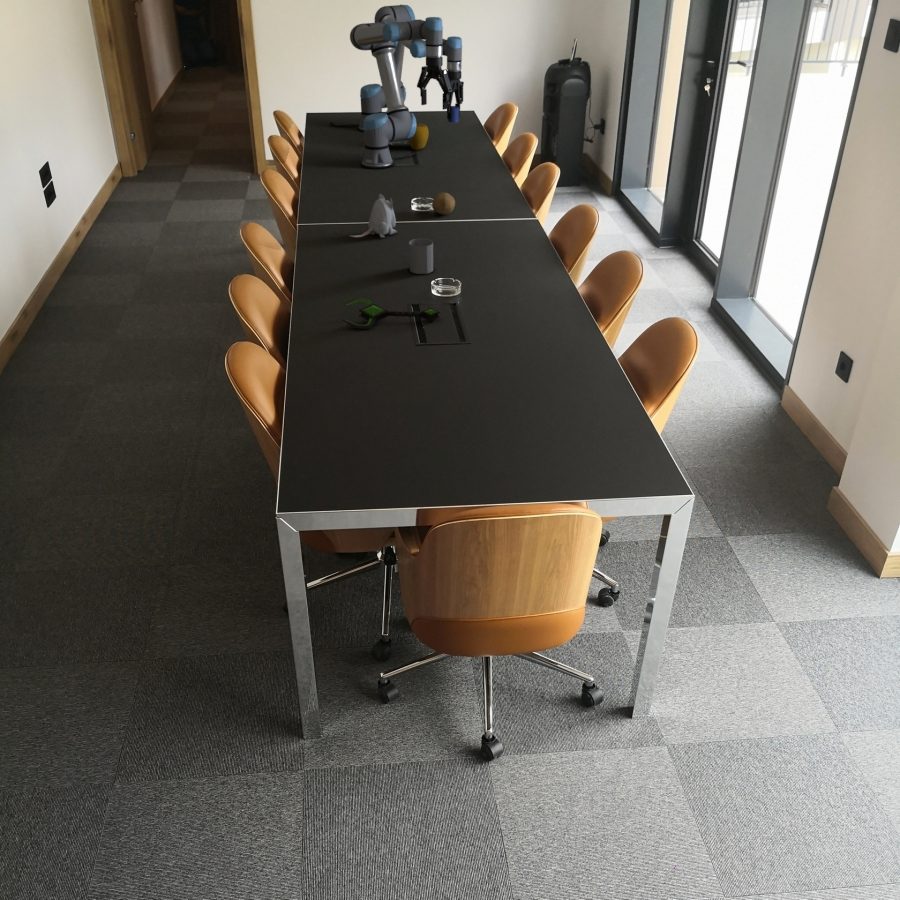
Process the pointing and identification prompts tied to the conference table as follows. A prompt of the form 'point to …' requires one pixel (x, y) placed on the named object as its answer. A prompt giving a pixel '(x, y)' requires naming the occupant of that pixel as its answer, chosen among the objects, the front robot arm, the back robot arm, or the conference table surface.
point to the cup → (421, 256)
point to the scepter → (386, 313)
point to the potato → (443, 203)
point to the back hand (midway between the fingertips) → (453, 117)
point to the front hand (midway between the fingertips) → (434, 106)
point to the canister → (454, 114)
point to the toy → (381, 218)
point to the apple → (419, 137)
